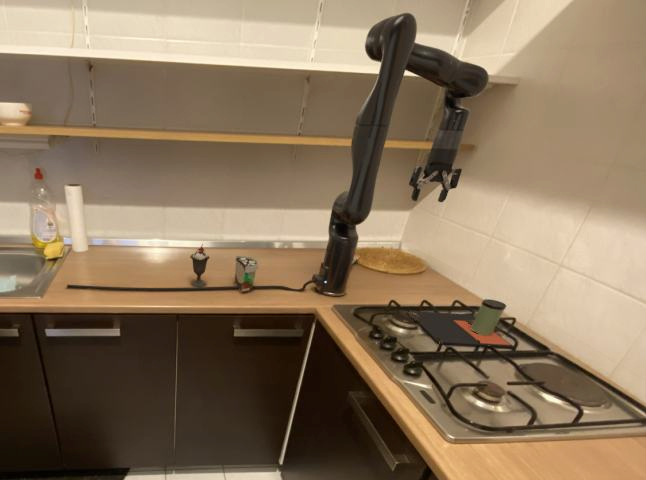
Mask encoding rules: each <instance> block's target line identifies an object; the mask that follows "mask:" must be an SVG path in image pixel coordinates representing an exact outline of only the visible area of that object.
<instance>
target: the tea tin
mask: <svg viewBox="0 0 646 480" xmlns="http://www.w3.org/2000/svg"><path fill="white" fill-rule="evenodd" d="M506 308H507V304H505V303H504V302H502V301H499V300H496V299H489V298H485V299H483V300H482V302H481V305H480V307H479V309H478V311H477V313H476V315H475V320H474V322H473V324H472V326H471V328H472V329H473V330H474V331H475V332H476V333H478V334H479V335H483V336H490V335H492V333H493V331H494V332H495V329H496V327H497V325H498V323H499V321H500V319H501V317H502V315H503V313H504V310H506Z"/></svg>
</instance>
